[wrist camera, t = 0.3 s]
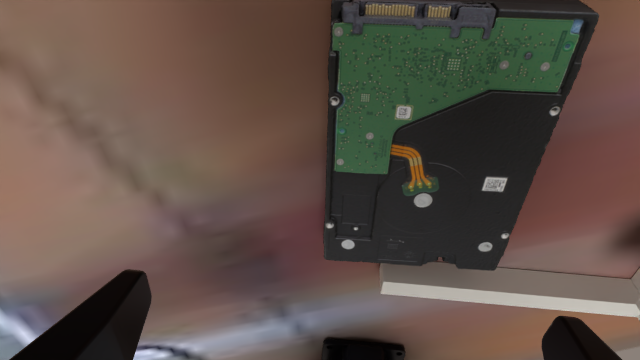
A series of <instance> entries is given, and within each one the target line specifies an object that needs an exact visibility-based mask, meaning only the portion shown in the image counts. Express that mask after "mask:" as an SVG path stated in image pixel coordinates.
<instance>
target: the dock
mask: <svg viewBox="0 0 640 360" xmlns="http://www.w3.org/2000/svg"><path fill="white" fill-rule="evenodd" d="M379 271H380V291H381V294H389V295H400V296H411V297H421V298H432V299H443V300H454V301H465V302H476V303H487V304H498V305H509V306H520V307H531V308H542V309H553V310H564V311H575V312H586V313H597V314H608V315H619V316H630V317H638V319H639V321H640V268H639V269H638V271H637V272H636V273H635V274H634V276H633V277H632V278H631V279H622V278H611V277H599V276H588V275H577V274H566V273H554V272H543V271H532V270H521V269H509V268H498V267H497V268H496V270H494V271H487V270H473V269H471V270H470V269H458V268H457V267H456V265H455V264H450V263H442V262H428V263H427V264H423V265H422V266H409V265H393V264H385V263H381V264H380V269H379Z"/></svg>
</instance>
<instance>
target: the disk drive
mask: <svg viewBox="0 0 640 360" xmlns="http://www.w3.org/2000/svg"><path fill="white" fill-rule="evenodd" d="M598 18H599V14H598V13H596V12H595V11H593V10H592V9H591V8H589V7H588V6H587V5H585V4H584V3H582V2H580V1H579V0H332V4H331V42H330V49H329V59H328V61H329V64H328V80H329V94H328V96H329V99H328V132H327V165H326V199H325V201H326V204H325V221H324V258H325V259H326V260H334V261H352V262H360V261H362V262H370V263H373V262H374V263H385V264H393V265H409V266H422V265H423V264H427V263H428V262H433V261H437V260H438V257H442V259H443V261H445V262H449V263H450V264H455V265H456V267H457V268H458V269H470V270H471V269H473V270H487V271H494V270H496V268H497V265H498V263H499V261H500V259H501V257H502V256H503V254H504V251H505V249H506V247H507V244H508V241H509V236H510V234H511V232H512V230H513V228H514V225H515V223H516V221H517V218H518V215H519V212H520V210H521V208H522V205H523V203H524V200H525V198H526V196H527V193H528V191H529V188H530V186H531V183H532V181H533V177H534V175H535V173H536V170H537V168H538V166H539V165H540V162H541V158H542V156H543V154H544V152H545V148H546V146H547V144H548V142H549V141H550V137H551V135H552V132H553V128H555V126H556V124H557V121H558V119H559V114H560V112H561V110H562V107H563V104H564V102H565V100H566V97H567V96H568V94H569V92H570V90H571V88H572V85H573V82H574V80H575V79H576V77H577V74H578V72H579V70H580V67H581V62H582V58H583V55H584V52H585V51H586V49H587V46H588V44H589V42H590V40H591V37H592V34H593V32H594V28H595V26H596V24H597V21H598Z"/></svg>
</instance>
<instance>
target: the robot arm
mask: <svg viewBox="0 0 640 360" xmlns="http://www.w3.org/2000/svg"><path fill="white" fill-rule="evenodd" d="M150 304H151V291H150V287H149V283H148V279H147V276H146V273H145V272H144V271H140V270H130V269H128V270H124V271H122V272H121V273H120V274H118V275H117V276H116V277H115V278H113V279H112V280H111V281H109V282H108V283H107V284H106V285H104V286H103V287H102V288H100V289H99V290H98V291H97V292H95V293H94V294H93V295H91V296H90V297H89V298H88V299H86V300H85V301H84V302H83V303H81V304H80V305H79V306H77V307H76V308H75V309H74V310H72V311H71V312H70V313H68V314H67V315H66V316H65V317H63V318H62V319H61V320H59V321H58V322H57V323H56V324H54V325H53V326H52V327H51V328H49V329H48V330H47V331H45V332H44V333H43V334H42V335H40V336H39V337H38V338H36V339H35V340H34V341H33V342H31V343H30V344H29V345H27V346H26V347H25V348H24V349H22V350H21V351H20V352H19V353H17V354H16V355H15V356H13V357H12V358H11V359H10V360H133V358H134V355H135V351H136V348H137V345H138V342H139V339H140V336H141V333H142V330H143V326H144V323H145V320H146V317H147V314H148V311H149V308H150ZM542 351H543V356H544V360H622V359H621V358H620V357H619V356H618V355H617V354H616V353H615V352H614V351H613V350H612V349H611V348H610V347H609V346H608V345H607V344H606V343H604V342H603V341H602V340H601V339H600V338H599V337H598V336H597V335H596V334H595V333H594V332H593V331H592V330H591V329H590V328H589V327H588V326H587V325H586V324H585V323H584V322H583V321H582V320H580V319H578V318H575V317H568V316H558V317H556V318H555V320H554V321H553V322H552V324H551V325H550V327H549V328H548V330H547V331H546V333H545V334H544V336H543V339H542ZM404 357H405V348H404V347H402V346H396V345H386V344H375V343H365V342H354V341H344V340H333V339H327V340H325V341H324V342H323V352H322V360H404Z"/></svg>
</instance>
